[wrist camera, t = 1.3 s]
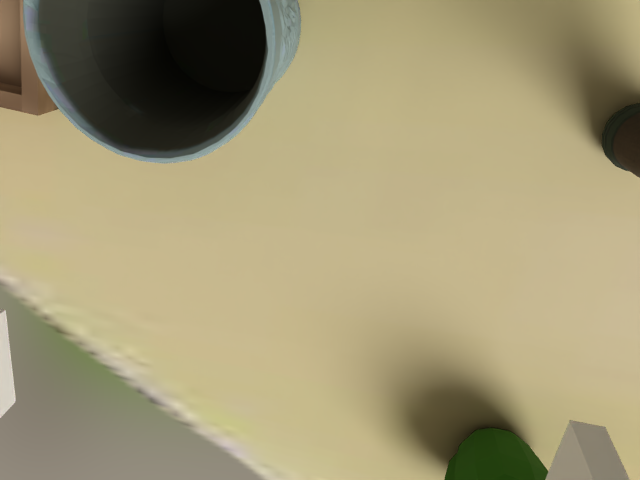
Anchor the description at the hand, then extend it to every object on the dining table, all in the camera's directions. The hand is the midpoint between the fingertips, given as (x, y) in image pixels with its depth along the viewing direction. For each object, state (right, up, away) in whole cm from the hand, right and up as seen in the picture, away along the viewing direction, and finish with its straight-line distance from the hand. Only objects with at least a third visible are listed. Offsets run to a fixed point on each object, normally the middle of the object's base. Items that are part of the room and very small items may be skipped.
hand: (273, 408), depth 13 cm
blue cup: (-4, +16, +20) cm, 26 cm away
